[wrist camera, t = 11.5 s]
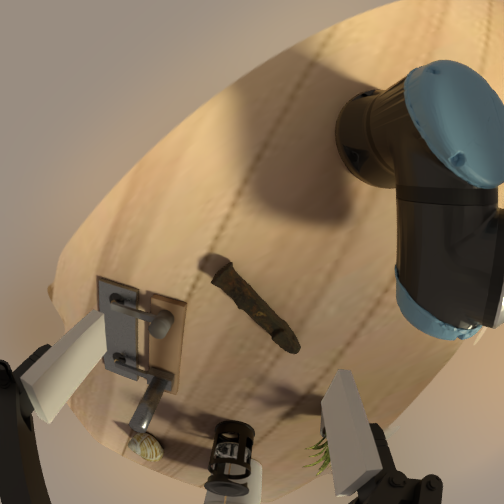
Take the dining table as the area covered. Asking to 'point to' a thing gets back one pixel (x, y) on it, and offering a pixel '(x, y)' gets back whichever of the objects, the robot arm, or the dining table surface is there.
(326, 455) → the house plant
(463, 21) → the dining table surface
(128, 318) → the bolt plate
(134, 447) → the seashell
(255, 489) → the utensil holder
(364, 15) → the dining table surface
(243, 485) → the french press
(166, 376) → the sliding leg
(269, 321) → the hand tool
